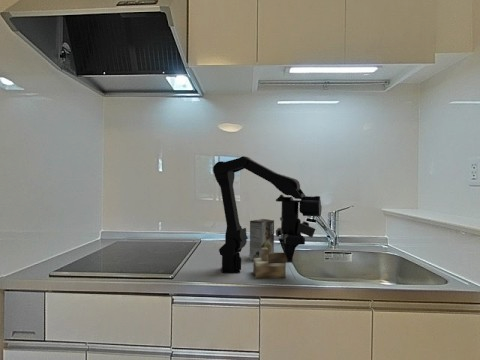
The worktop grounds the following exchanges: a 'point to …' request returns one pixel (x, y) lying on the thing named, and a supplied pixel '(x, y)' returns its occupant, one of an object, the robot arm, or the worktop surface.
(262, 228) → the coffee box
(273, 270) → the open wooden box
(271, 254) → the brown rectangular block
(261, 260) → the lid
